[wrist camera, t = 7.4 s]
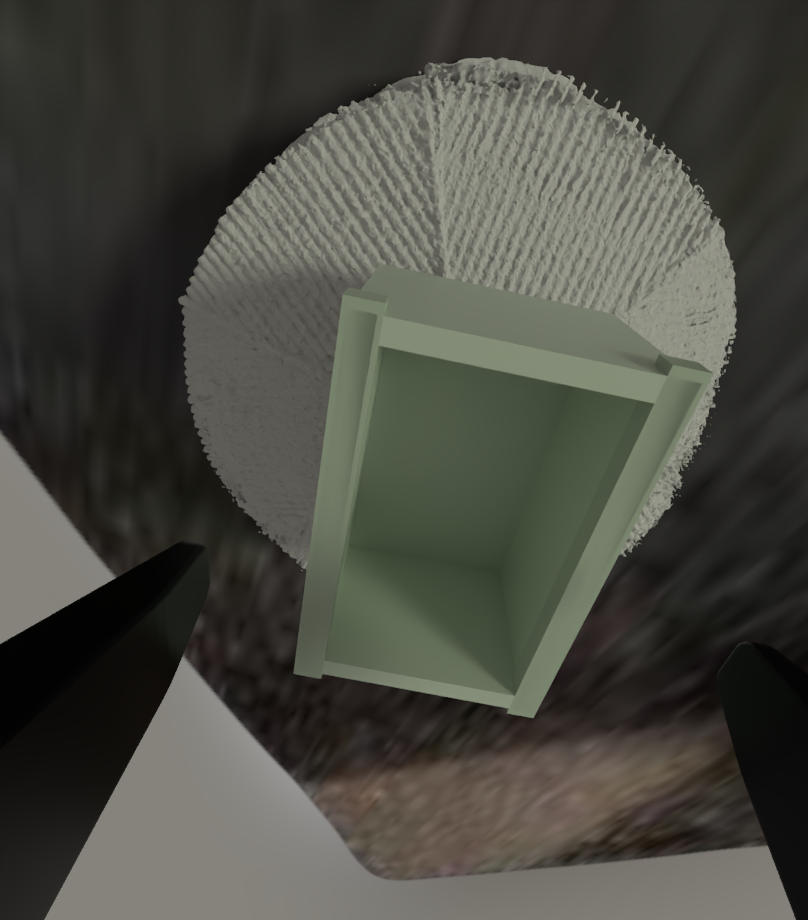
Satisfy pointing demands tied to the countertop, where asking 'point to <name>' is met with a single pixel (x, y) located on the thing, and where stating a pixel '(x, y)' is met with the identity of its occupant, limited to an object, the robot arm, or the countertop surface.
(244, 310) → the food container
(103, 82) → the countertop surface
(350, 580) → the crate
